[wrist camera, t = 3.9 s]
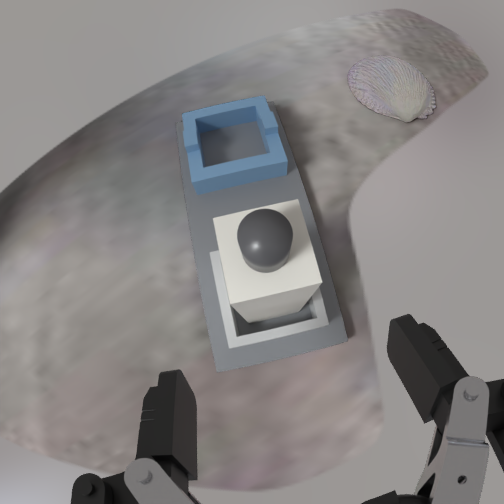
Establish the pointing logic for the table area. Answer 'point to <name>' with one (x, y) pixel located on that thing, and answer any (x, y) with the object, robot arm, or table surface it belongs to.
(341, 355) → the table surface
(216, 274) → the socket
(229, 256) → the white knobbed square peg
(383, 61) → the seashell
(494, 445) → the robot arm
